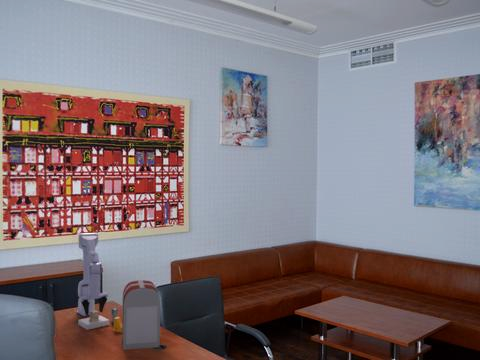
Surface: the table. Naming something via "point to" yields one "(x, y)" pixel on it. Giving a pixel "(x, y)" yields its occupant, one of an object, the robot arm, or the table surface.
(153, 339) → the grey arched box
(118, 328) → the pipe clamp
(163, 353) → the table surface
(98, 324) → the socket block
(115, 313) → the round peg
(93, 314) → the square peg
